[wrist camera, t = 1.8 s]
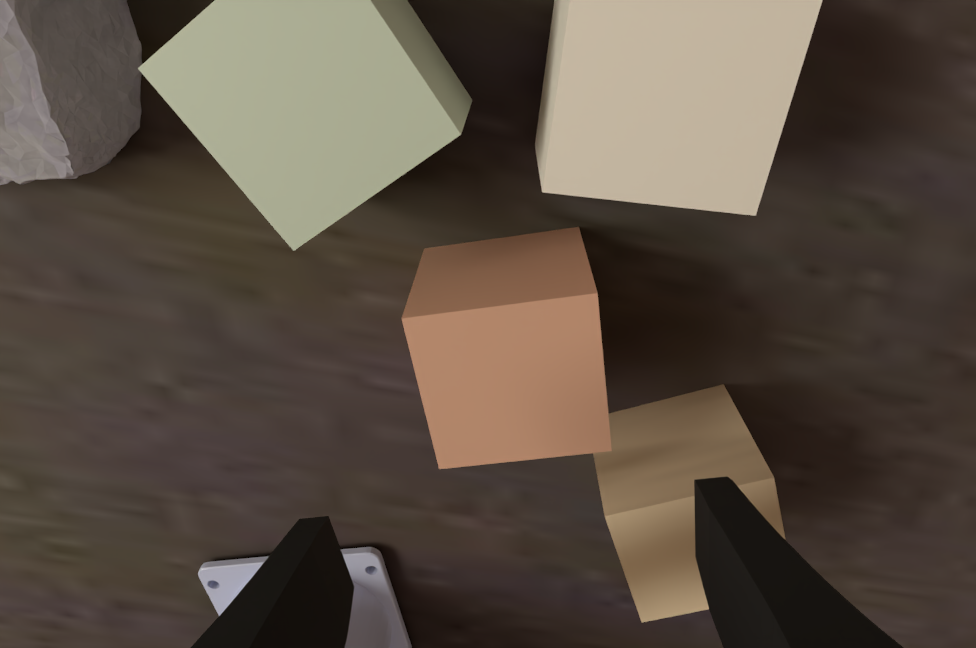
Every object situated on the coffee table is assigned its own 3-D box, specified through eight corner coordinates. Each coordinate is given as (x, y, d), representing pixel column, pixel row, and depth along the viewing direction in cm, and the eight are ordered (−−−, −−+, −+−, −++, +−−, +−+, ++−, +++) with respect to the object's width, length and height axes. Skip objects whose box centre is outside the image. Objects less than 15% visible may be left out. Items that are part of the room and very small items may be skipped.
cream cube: (699, 163, 19) (755, 215, 15) (534, 144, 19) (542, 192, 15) (747, -25, 17) (832, -29, 13) (560, -47, 17) (578, -59, 12)
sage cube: (472, 99, 19) (460, 134, 14) (341, 192, 20) (293, 250, 16) (364, -67, 17) (312, -86, 12) (227, 48, 18) (137, 68, 14)
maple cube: (744, 485, 25) (794, 592, 21) (618, 514, 26) (641, 622, 22) (722, 382, 23) (774, 477, 18) (586, 418, 24) (604, 516, 19)
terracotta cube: (591, 360, 23) (611, 451, 18) (452, 376, 23) (439, 468, 19) (578, 225, 20) (597, 293, 16) (424, 247, 21) (401, 318, 16)
